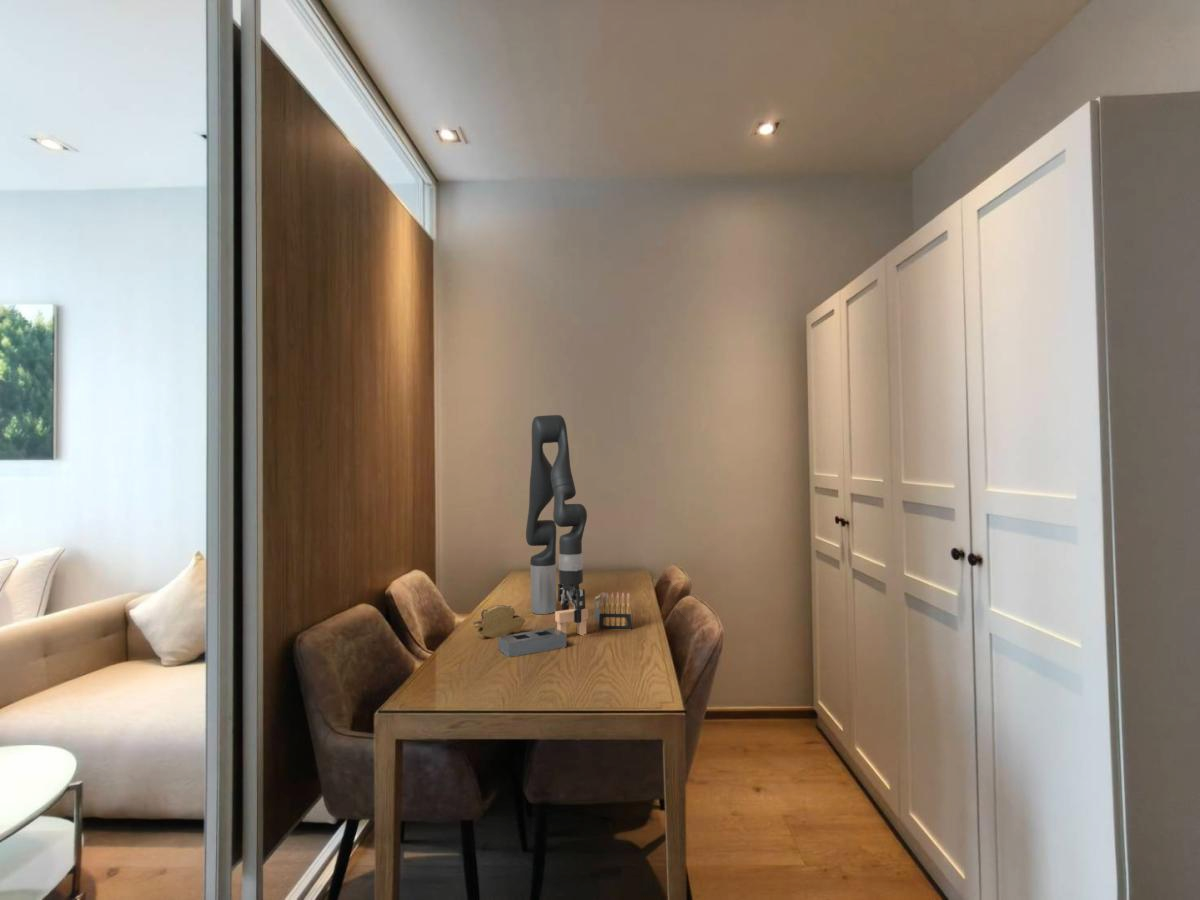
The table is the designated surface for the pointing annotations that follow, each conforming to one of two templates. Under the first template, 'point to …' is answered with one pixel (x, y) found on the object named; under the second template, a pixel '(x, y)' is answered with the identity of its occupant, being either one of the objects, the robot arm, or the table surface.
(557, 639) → the grey socket block
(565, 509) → the robot arm
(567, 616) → the prong clip
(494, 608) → the wooden carving
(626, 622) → the ammunition clip
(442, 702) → the table surface
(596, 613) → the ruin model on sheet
